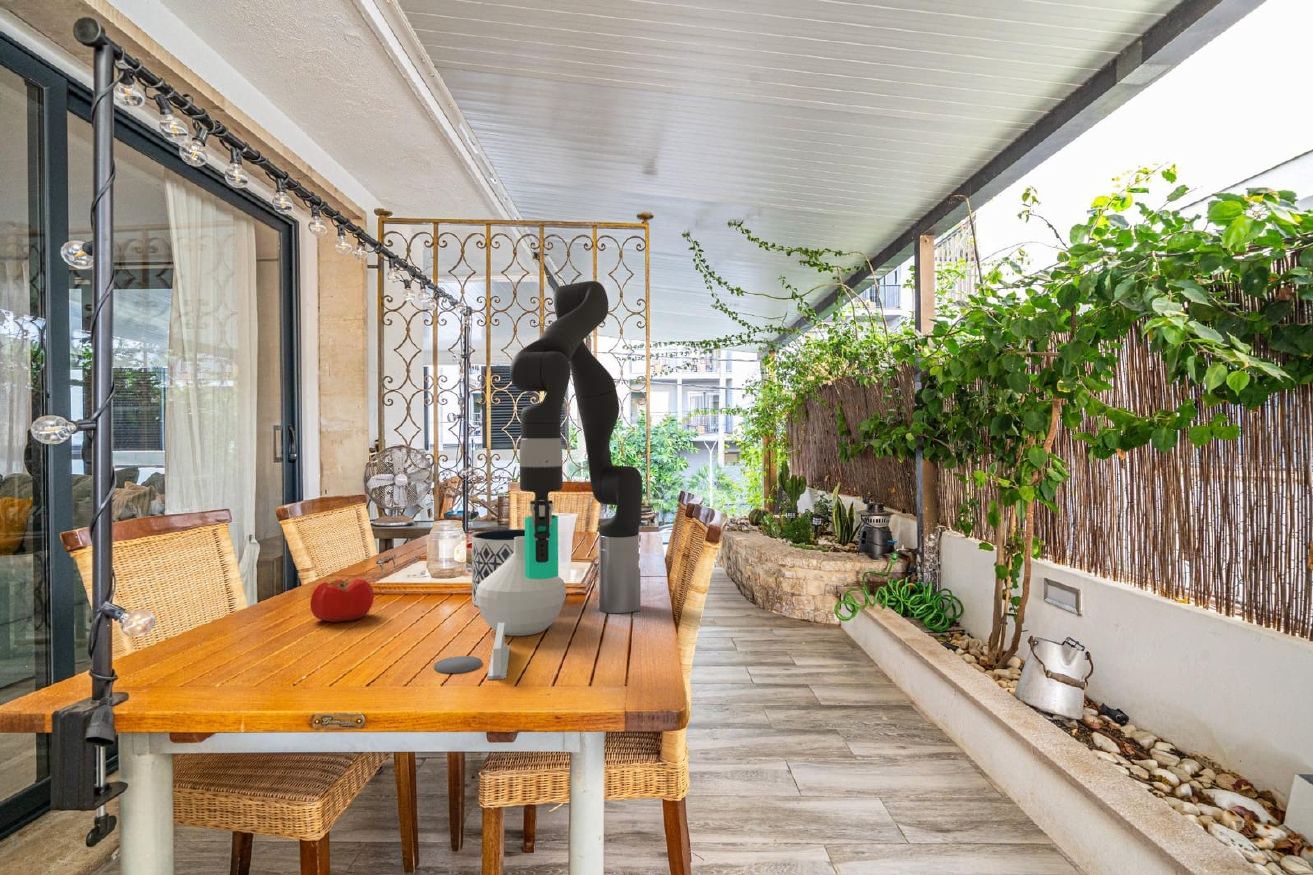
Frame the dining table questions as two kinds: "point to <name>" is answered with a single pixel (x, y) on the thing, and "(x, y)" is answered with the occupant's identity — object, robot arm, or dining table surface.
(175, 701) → the dining table surface
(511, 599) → the vase
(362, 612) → the tomato
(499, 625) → the divider wall
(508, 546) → the planter
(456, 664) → the coaster
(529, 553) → the candle
